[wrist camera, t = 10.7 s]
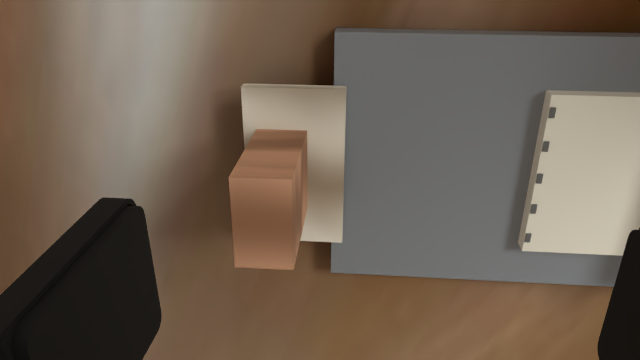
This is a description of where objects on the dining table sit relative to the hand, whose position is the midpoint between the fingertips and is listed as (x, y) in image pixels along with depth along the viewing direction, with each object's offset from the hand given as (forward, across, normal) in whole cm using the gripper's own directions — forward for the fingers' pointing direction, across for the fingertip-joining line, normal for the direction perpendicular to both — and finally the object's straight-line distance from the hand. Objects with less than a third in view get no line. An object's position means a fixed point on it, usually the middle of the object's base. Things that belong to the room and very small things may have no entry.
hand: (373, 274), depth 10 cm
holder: (+23, -10, +7) cm, 26 cm away
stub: (+21, +5, +7) cm, 23 cm away
